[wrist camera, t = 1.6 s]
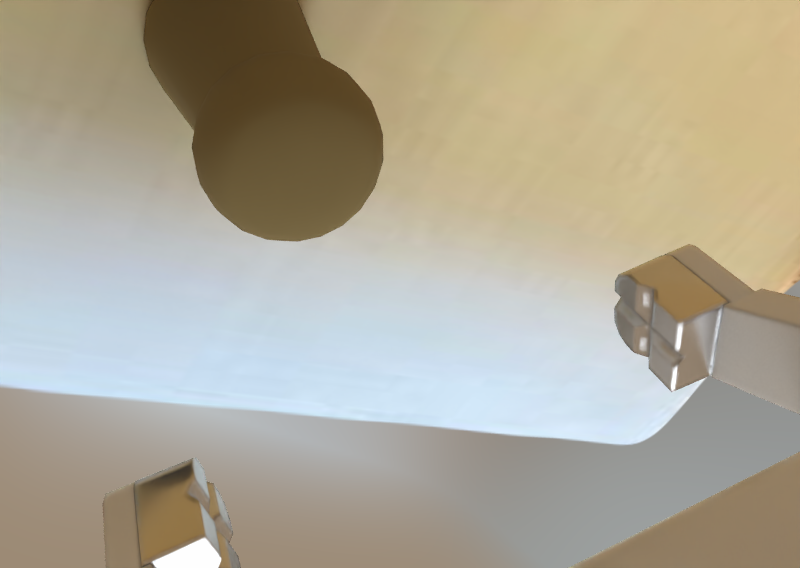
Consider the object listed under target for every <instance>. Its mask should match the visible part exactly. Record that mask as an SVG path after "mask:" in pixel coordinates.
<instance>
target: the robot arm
mask: <svg viewBox="0 0 800 568" xmlns="http://www.w3.org/2000/svg"><path fill="white" fill-rule="evenodd" d="M615 292H617V293H618V294H619V295H620V296H621V298H620V300H619V301H618V303H617V305H616V306H615V308H614V316H615V323H616V326H617V329H618V332H619V334H620V336H621V337H622V339H623V341H624V342H625V344H626V345H627V346H628V347H629V348H630V349H631V350H632V351H633V352H634V353H637V354H640V355H643V356H646V357H648V359H649V369H650V370H651V371H652V372H653V373H654V374H655V375H656V376H657V377H658V378H659V379H660V380H661V381H662V382H663V383H664V385H665V386H666V387H667V388H668V389H669V390H670V391H671V392H673V391H676V390H678V389H680V388H682V387H685V386H687V385H689V384H692V383H694V382H696V381H699V380H701V379H703V378H705V377H708V376H710V375H712V378H715V379H717V380H719V381H722V382H724V383H726V384H729V385H731V386H734V387H736V388H738V389H741V390H743V391H745V392H748V393H750V394H753V395H755V396H757V397H760V398H762V399H764V400H767V401H769V402H771V403H774V404H776V405H779V406H781V407H784V408H786V409H788V410H790V411H793V412H795V413H798V414H800V298H799V297H795V296H791V295H786V294H782V293H778V292H774V291H769V290H765V289H760V290H757V291H754V290H752V289H751V288H750V287H748V286H747V285H746V284H745V283H743V282H742V281H741V280H739V279H738V278H737V277H735V276H734V275H733V274H732V273H730V272H729V271H728V270H726V269H725V268H724V267H722V266H721V265H720V264H718V263H717V262H716V261H715V260H713V259H712V258H711V257H709V256H708V255H707V254H705V253H704V252H703V251H701V250H700V249H699V248H698V247H696V246H694V245H690V244H688V245H686V246H683V247H681V248H679V249H676V250H674V251H672V252H669V253H667V254H665V255H663V256H659V257H657V258H655V259H653V260H650V261H648V262H646V263H644V264H641V265H639V266H637V267H635V268H632V269H630V270H628V271H626V272H623V273H621V274H619V275H618V277H617V279H616V280H615ZM103 523H104V541H105V561H106V568H241V567H240V562H239V558H238V555H237V554H236V552H235V551H234V549H233V548H232V547H231V545H230V544H229V543H230V540H231V538H232V535H233V531H232V526H231V522H230V518H229V515H228V512H227V510H226V507H225V504H224V501H223V500H222V497H221V495H220V493H219V491H218V490H217V488H216V487H215V485H214V484H213V483H210V482H206V477H205V472H204V469H203V467H202V466H201V464H200V463H199V461H198V460H197V459H196V458H192V459H190V460H187V461H185V462H182V463H180V464H177V465H175V466H172V467H170V468H167V469H165V470H162V471H160V472H157V473H155V474H152V475H150V476H147V477H145V478H142V479H140V480H137V481H135V482H134V483H131V484H129V485H126V486H124V487H121V488H119V489H116V490H114V491H111V492H109V493H106V494H105V497H104V501H103ZM569 568H800V452H798V453H796V454H794V455H793V456H790V457H789V458H786V459H784V460H782V461H780V462H778V463H777V464H774V465H773V466H771V467H769V468H767V469H765V470H763V471H761V472H759V473H757V474H755V475H753V476H751V477H749V478H747V479H745V480H743V481H741V482H739V483H737V484H735V485H733V486H731V487H729V488H727V489H725V490H723V491H721V492H719V493H717V494H715V495H713V496H711V497H709V498H707V499H705V500H703V501H701V502H699V503H697V504H695V505H693V506H691V507H689V508H687V509H685V510H683V511H681V512H679V513H677V514H675V515H673V516H671V517H669V518H667V519H665V520H663V521H661V522H659V523H657V524H655V525H653V526H651V527H649V528H647V529H645V530H643V531H641V532H639V533H637V534H635V535H633V536H631V537H629V538H627V539H625V540H623V541H621V542H619V543H617V544H615V545H613V546H611V547H609V548H607V549H605V550H603V551H601V552H599V553H597V554H595V555H593V556H591V557H589V558H587V559H585V560H583V561H581V562H579V563H577V564H575V565H573V566H571V567H569Z"/></svg>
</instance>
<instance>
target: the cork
mask: <svg viewBox="0 0 800 568" xmlns="http://www.w3.org/2000/svg"><path fill="white" fill-rule="evenodd" d="M144 44H145V48H146V52H147V57H148V61H149V66H150V68H151V69H152V71H153V73H154V74H155V76H156V78H157V79H158V81H159V83H160V84H161V86H162V88H163V89H164V91H165V92H166V93H167V95H168V96H169V97H170V99H171V100H172V101H173V103H174V104H175V105H176V107H177V108H178V110H179V111H180V112H181V114H182V115H183V116H184V118H185V119H186V120H187V122H188V123H189V124H190V126H191V127H192V128H193V130H194V136H193V143H192V150H193V155H194V160H195V165H196V170H197V175H198V178H199V182H200V185H201V186H202V188H203V189H204V191H205V193H206V194H207V196H208V198H209V199H210V201H211V202H212V204H213V206H214V207H215V208H216V209H217V210H218V211H219V212H220V213H221V214H222V215H223V216H224V217H226V218H227V219H228V220H229V221H231V222H232V223H233V224H235V225H236V226H237V227H238V228H240V229H241V230H242V231H245V232H247V233H250V234H253V235H256V236H258V237H261V238H264V239H267V240H281V241H302V240H306V239H311V238H316V237H321V236H323V235H325V234H327V233H329V232H331V231H333V230H335V229H336V228H338V227H340V226H342V225H343V224H345V223H346V222H347V221H348V220H349V219H350V218H351V217H353V216H354V215H355V214H356V213H357V212H358V211H359V210H360V209H361V208H362V206H363V205H364V203H365V202H366V200H367V199H368V197H369V196H370V194H371V193H372V191H373V189H374V187H375V185H376V182H377V179H378V176H379V172H380V169H381V166H382V163H383V134H382V130H381V126H380V123H379V120H378V118H377V115H376V112H375V109H374V107H373V104H372V101H371V100H370V99H369V97H368V96H367V95H366V94H365V93H364V91H363V90H362V89H361V88H360V87H359V86H358V84H357V83H356V82H355V81H354V80H353V79H352V78H351V76H350V75H349V74H348V73H347V72H345V71H344V70H342V69H340V68H338V67H337V66H335V65H333V64H331V63H330V62H328V61H326V60H325V59H323V58H321V56H320V53H319V51H318V49H317V46H316V44H315V41H314V39H313V37H312V34H311V32H310V30H309V27H308V25H307V23H306V20H305V18H304V16H303V13H302V11H301V9H300V6H299V4H298V2H297V0H153V1H152V3H151V5H150V7H149V9H148V12H147V14H146V23H145V33H144Z"/></svg>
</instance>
